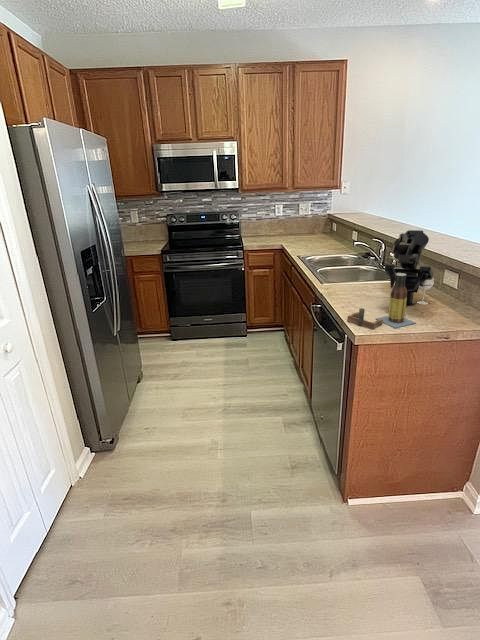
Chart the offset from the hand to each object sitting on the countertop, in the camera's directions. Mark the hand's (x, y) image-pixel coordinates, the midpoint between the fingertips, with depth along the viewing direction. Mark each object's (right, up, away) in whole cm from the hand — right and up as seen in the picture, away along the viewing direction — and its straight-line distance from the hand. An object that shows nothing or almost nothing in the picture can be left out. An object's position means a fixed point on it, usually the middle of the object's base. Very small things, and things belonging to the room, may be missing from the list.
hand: (402, 288), depth 155 cm
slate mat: (-4, -14, -2) cm, 14 cm away
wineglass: (+18, -5, +18) cm, 26 cm away
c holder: (-17, -15, -3) cm, 23 cm away
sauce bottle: (-4, -14, -2) cm, 14 cm away
